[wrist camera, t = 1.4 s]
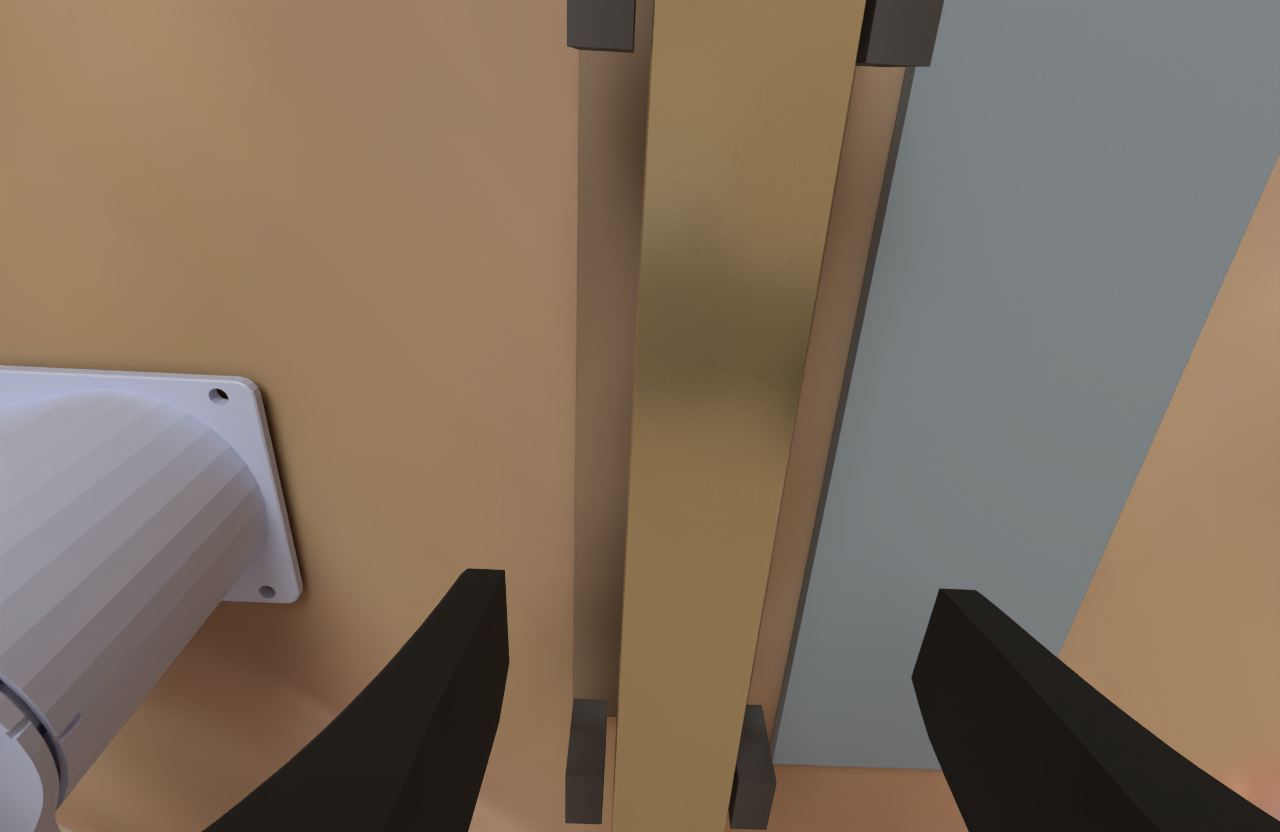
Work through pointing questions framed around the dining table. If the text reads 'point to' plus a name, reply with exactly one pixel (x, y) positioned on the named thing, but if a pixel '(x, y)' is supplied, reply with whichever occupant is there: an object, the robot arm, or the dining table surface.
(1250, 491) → the dining table surface
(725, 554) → the rail
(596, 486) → the rail stand
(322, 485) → the dining table surface
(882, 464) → the mat
